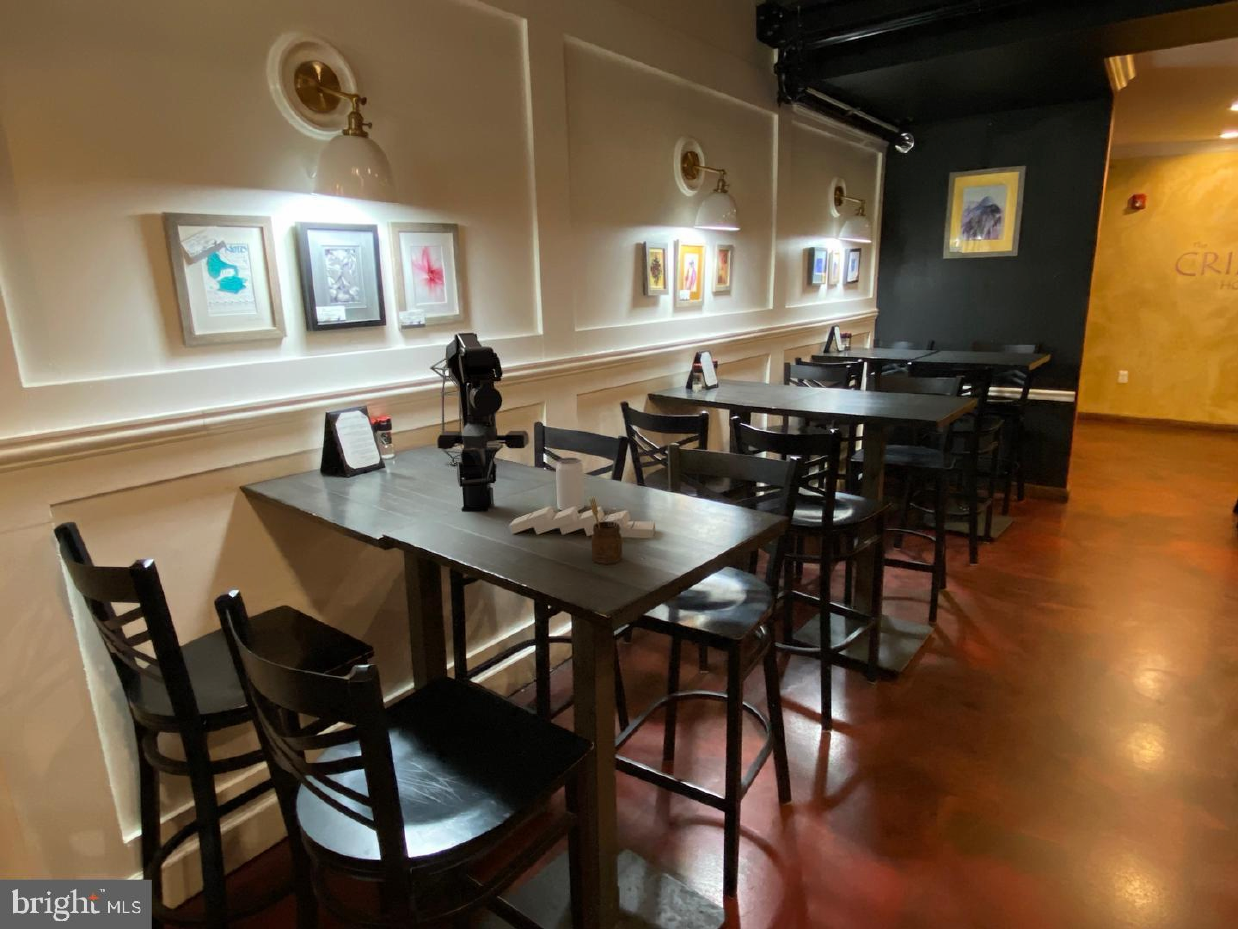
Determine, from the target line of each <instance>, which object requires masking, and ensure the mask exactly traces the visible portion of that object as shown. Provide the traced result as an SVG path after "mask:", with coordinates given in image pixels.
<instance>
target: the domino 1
mask: <svg viewBox="0 0 1238 929" xmlns="http://www.w3.org/2000/svg"><path fill="white" fill-rule="evenodd" d="M555 513H556V512H555V511H554V508H553V507H552V505H550V506H547V507H543V508H541V509H539V510H535V511H531V512H530V513H527V514H524V515H522V516H519V517H515V519H513V521H512V522H511V523H510V524H509V525H508V527H509V530H510V532H511V534H512V535H514V534H517V533H519V532H522V531H526V530H528V529H530V528H534V526H537V525H540V524H542V523H545V522H548V521H550V519H551V518H552V517H553V515H554V514H555Z"/></svg>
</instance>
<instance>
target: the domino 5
mask: <svg viewBox="0 0 1238 929" xmlns="http://www.w3.org/2000/svg"><path fill="white" fill-rule="evenodd" d="M655 531H656V521H634V520H633V521H630V520H629V522H628V523H627V524H626V526H625V527H621V528H620V531H619V533H620V534H621V537H622V538H636V539H637V538H638V539H639V538H640V539H653V538H654V536H655V535H654V534H655V533H656V532H655ZM653 535H654V536H653Z"/></svg>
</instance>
